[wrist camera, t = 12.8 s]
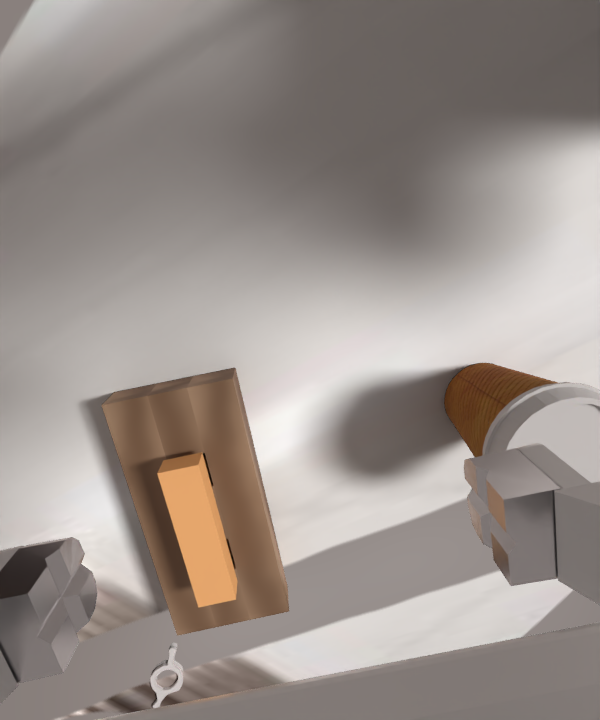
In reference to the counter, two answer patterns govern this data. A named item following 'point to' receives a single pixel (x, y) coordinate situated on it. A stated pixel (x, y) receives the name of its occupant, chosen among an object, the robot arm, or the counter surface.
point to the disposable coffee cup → (526, 415)
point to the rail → (229, 484)
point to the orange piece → (198, 528)
